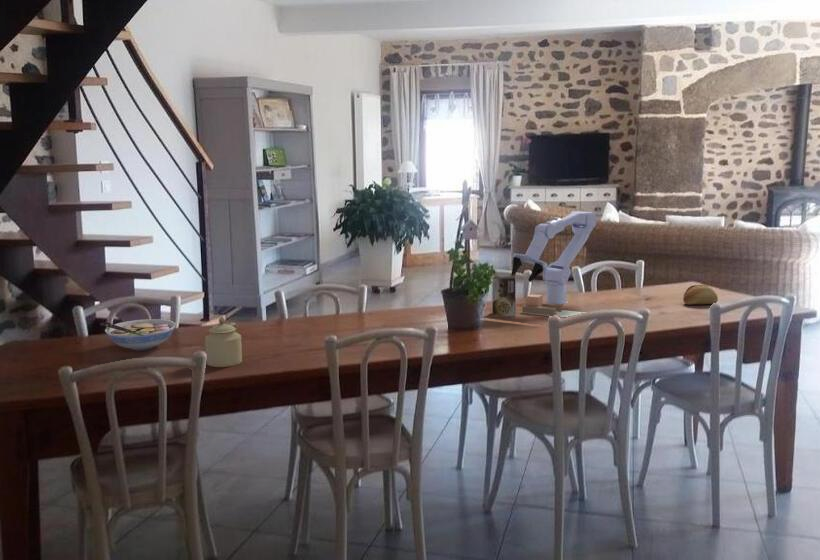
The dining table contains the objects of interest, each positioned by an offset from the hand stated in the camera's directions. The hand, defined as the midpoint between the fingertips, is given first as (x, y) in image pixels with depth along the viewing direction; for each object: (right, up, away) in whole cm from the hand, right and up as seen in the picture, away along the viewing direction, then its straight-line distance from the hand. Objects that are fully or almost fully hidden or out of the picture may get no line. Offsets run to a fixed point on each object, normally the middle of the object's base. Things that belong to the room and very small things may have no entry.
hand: (520, 278), depth 299 cm
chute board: (+13, -15, -2) cm, 20 cm away
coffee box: (-7, -15, -4) cm, 17 cm away
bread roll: (+77, -11, +15) cm, 79 cm away
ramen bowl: (-135, -24, -42) cm, 144 cm away
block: (+6, -13, +2) cm, 14 cm away
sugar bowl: (-103, -27, -59) cm, 122 cm away
